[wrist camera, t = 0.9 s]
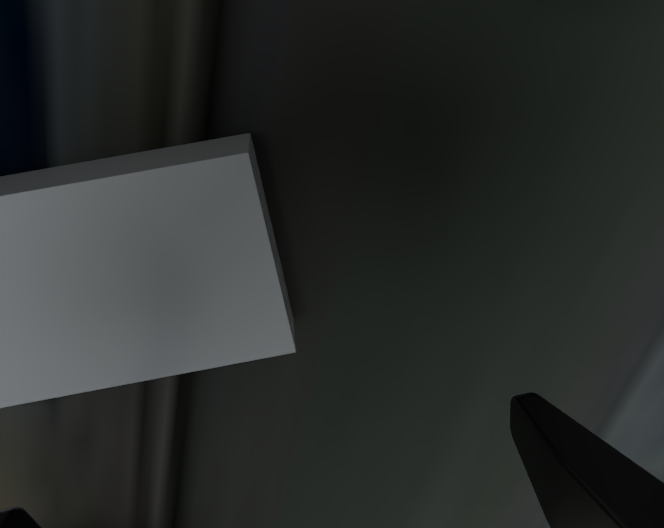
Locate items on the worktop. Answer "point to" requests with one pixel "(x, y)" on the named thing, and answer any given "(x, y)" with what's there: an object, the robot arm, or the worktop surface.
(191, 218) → the slate board
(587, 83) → the worktop surface
